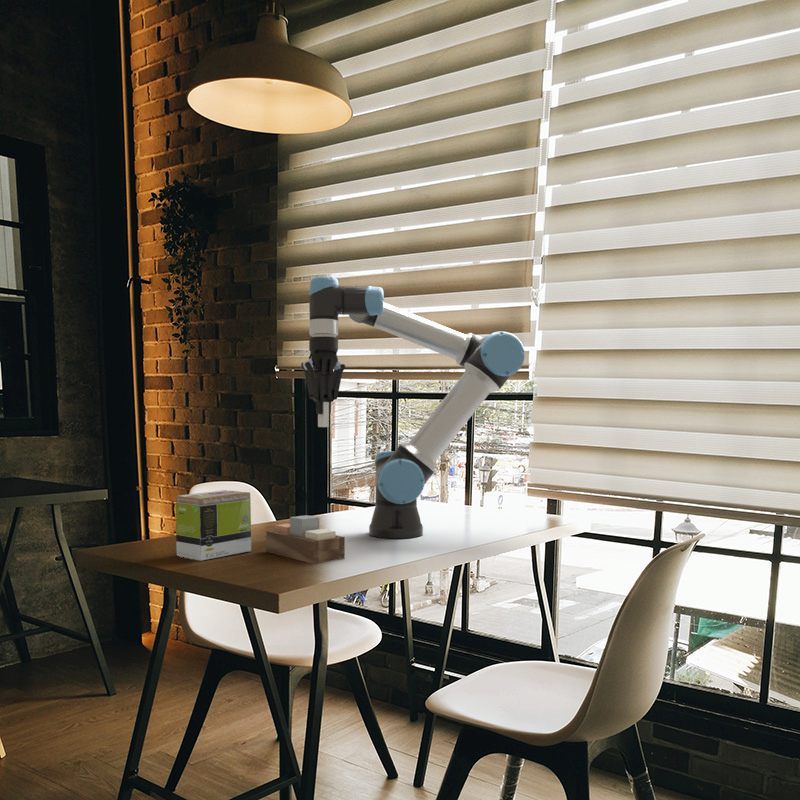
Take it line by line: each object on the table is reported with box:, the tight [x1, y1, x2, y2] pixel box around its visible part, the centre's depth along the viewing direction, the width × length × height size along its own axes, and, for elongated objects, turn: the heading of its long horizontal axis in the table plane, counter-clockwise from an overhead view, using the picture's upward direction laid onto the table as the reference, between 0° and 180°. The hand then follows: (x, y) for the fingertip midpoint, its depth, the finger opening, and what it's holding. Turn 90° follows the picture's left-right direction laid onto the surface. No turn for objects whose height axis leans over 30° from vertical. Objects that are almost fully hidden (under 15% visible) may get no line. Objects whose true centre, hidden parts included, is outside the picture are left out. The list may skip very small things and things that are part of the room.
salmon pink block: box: [274, 522, 290, 534], centre depth 178 cm, size 5×5×6 cm
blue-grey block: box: [289, 514, 320, 537], centre depth 173 cm, size 5×5×6 cm
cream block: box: [305, 528, 336, 540], centre depth 169 cm, size 5×5×6 cm
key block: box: [265, 529, 346, 565], centre depth 173 cm, size 9×19×5 cm, turn 42°
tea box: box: [175, 489, 252, 562], centre depth 174 cm, size 15×10×15 cm
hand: (323, 426), depth 189 cm, fingers closed
